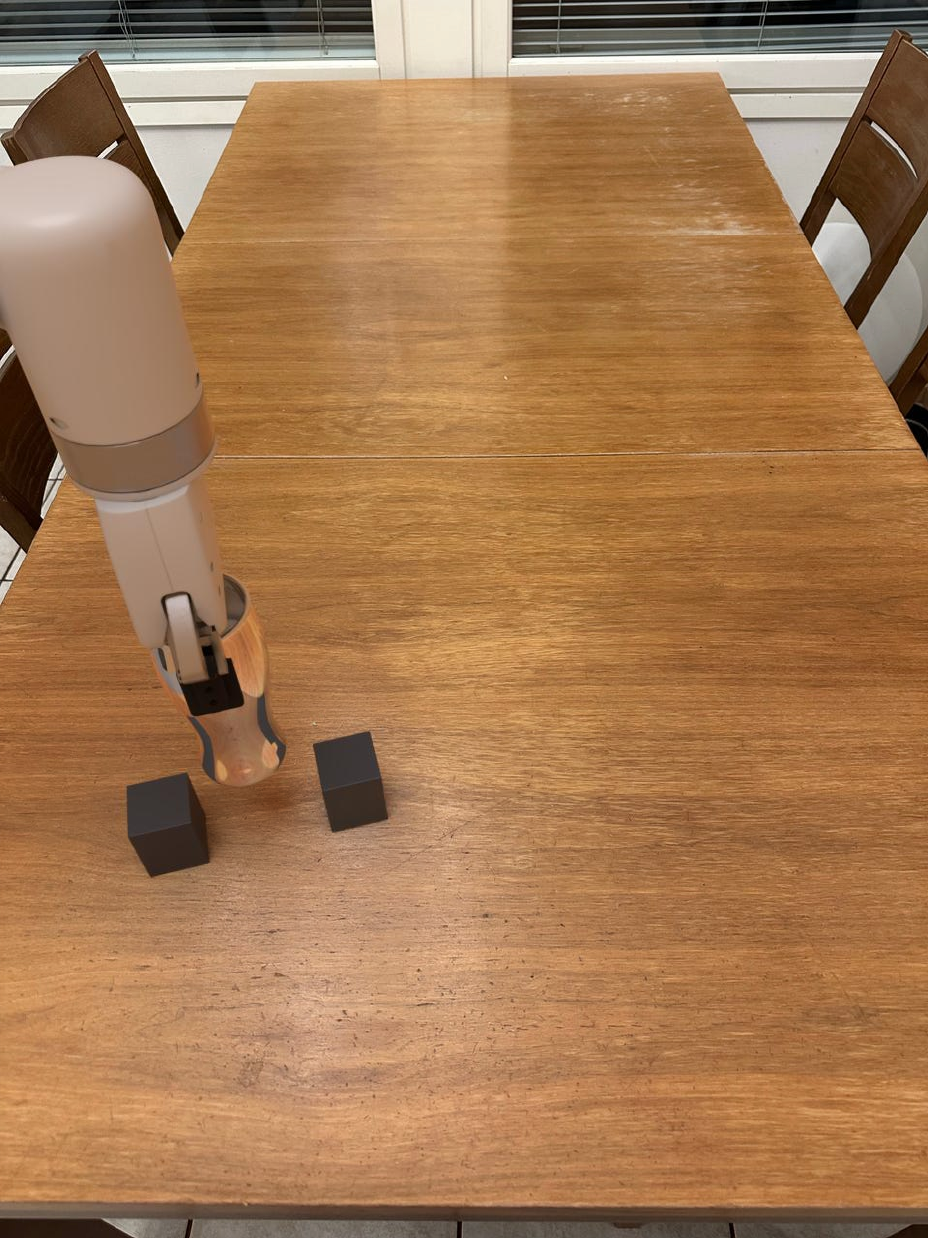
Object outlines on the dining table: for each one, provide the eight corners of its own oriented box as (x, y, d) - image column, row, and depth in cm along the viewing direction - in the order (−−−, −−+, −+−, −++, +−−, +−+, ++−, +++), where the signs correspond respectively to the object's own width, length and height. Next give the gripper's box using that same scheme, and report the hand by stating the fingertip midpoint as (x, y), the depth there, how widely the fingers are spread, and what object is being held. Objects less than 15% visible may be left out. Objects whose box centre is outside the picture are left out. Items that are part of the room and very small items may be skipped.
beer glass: (263, 806, 64) (215, 664, 53) (175, 776, 66) (112, 633, 55) (310, 728, 69) (274, 582, 58) (226, 702, 71) (177, 556, 60)
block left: (149, 877, 72) (127, 837, 67) (147, 827, 75) (126, 785, 70) (209, 863, 72) (191, 822, 68) (205, 813, 75) (187, 771, 71)
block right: (331, 833, 74) (321, 791, 70) (322, 786, 77) (312, 743, 73) (388, 819, 75) (381, 777, 70) (376, 773, 78) (370, 730, 73)
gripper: (61, 352, 52) (148, 580, 65) (52, 562, 41) (159, 787, 54) (198, 330, 53) (256, 559, 66) (227, 529, 42) (290, 757, 55)
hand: (212, 659), depth 60 cm, fingers closed on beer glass, 7 cm apart
